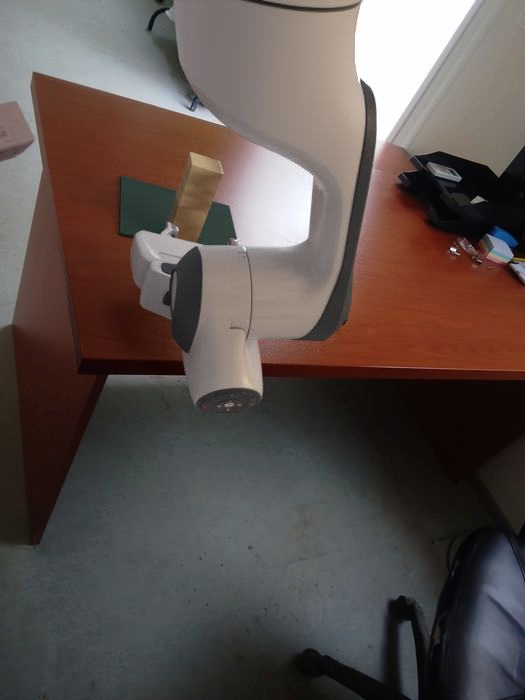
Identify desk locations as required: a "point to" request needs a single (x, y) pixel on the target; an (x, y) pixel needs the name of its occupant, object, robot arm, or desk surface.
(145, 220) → the mat
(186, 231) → the maple block
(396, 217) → the desk surface
